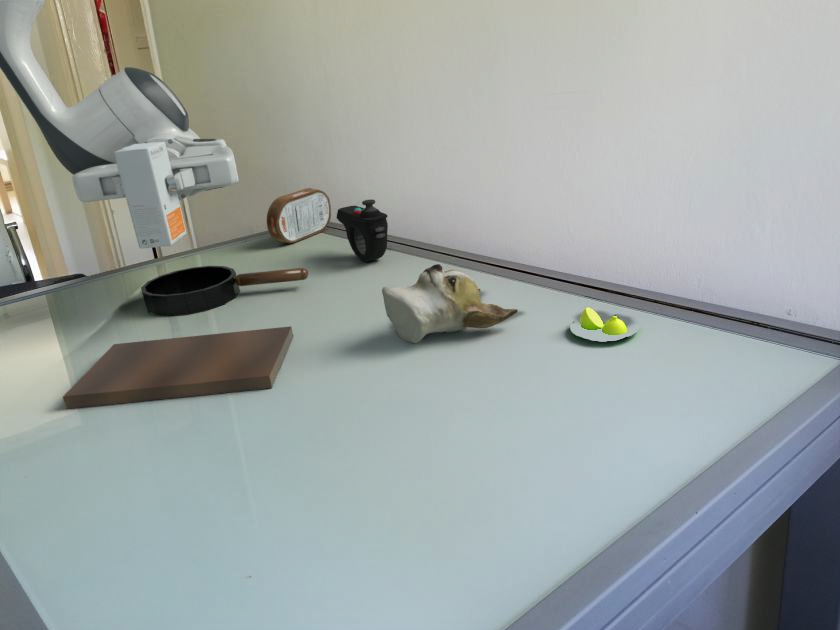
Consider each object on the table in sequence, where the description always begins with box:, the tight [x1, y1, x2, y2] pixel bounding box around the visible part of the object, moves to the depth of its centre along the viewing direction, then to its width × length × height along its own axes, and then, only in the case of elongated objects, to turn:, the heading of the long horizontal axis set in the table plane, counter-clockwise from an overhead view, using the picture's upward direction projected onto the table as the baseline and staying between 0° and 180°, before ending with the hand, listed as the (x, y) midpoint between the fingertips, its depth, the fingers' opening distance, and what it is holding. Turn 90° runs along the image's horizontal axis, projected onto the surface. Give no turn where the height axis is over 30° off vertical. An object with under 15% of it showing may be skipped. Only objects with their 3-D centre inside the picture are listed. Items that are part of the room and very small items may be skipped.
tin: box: [266, 187, 332, 244], centre depth 133 cm, size 15×3×8 cm, turn 149°
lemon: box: [579, 307, 627, 335], centre depth 83 cm, size 8×8×3 cm
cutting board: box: [62, 325, 294, 410], centre depth 83 cm, size 22×14×2 cm, turn 93°
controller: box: [336, 199, 389, 262], centre depth 117 cm, size 4×12×10 cm, turn 34°
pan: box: [140, 265, 309, 317], centre depth 107 cm, size 24×13×3 cm, turn 92°
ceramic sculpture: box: [381, 263, 519, 344], centre depth 86 cm, size 11×9×15 cm
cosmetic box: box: [114, 142, 188, 249], centre depth 91 cm, size 6×4×12 cm
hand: (149, 187), depth 89 cm, fingers closed on cosmetic box, 4 cm apart
